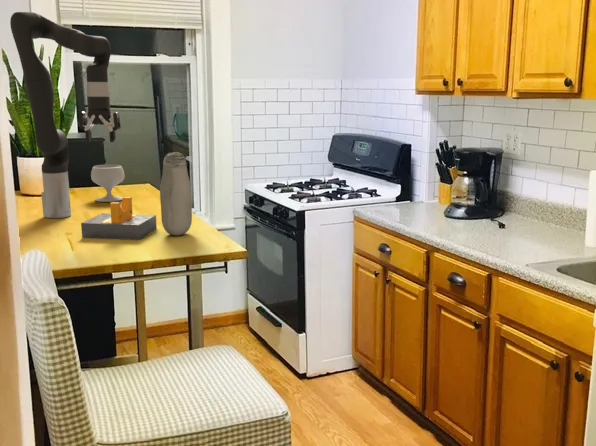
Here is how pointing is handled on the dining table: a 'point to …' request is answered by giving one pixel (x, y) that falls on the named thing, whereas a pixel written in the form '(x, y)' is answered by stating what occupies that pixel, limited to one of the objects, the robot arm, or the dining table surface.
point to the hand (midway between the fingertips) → (100, 141)
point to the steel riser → (119, 227)
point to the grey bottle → (175, 195)
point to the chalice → (108, 179)
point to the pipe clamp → (121, 209)
